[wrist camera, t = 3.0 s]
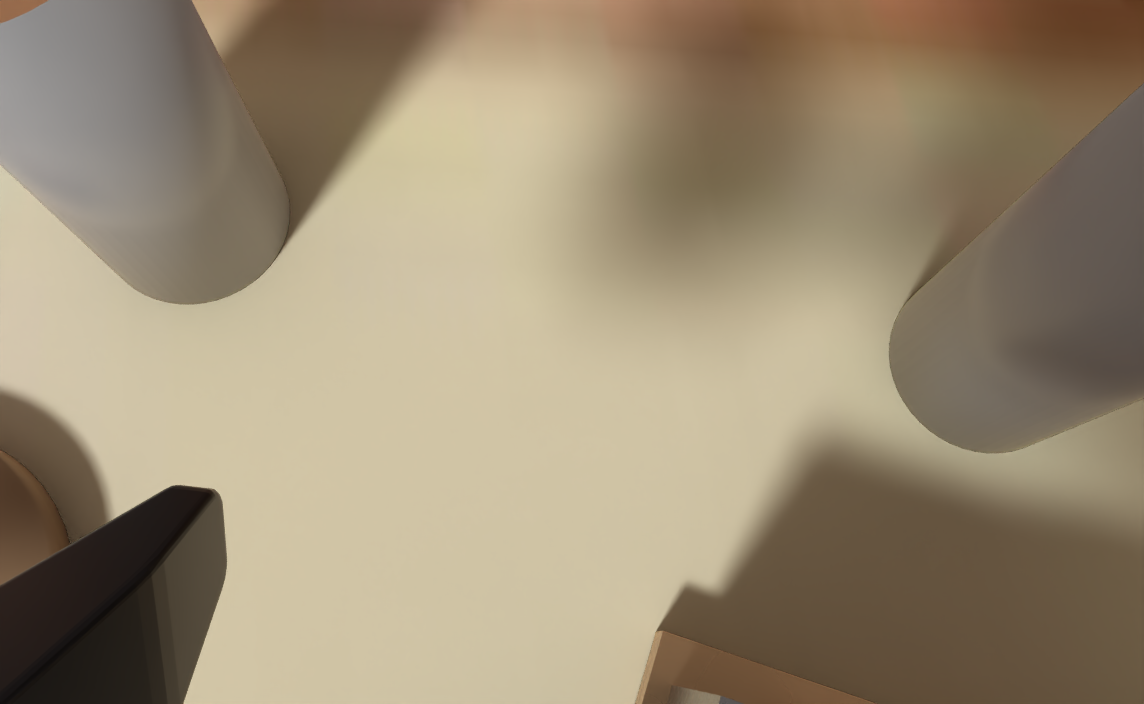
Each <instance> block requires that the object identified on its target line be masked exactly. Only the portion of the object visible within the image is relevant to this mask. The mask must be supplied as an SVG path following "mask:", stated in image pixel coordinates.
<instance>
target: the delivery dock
mask: <svg viewBox="0 0 1144 704" xmlns="http://www.w3.org/2000/svg"><path fill="white" fill-rule="evenodd" d="M68 545H70V543H69V539H68V536H67V532H66V529H65V525H64V523H63V521H62V519H61V516H60V514H59V512H58V510H57V508H56V505H55V504H54V502H53V501H52V499H51V498H50V496H49V495H48V493H47V491H46V490H45V488H44V487H43V486H42V485H41V483H40V482H39V481H38V480H37V479H36V478H35V477H34V476H33V474H32V473H31V472H30V471H29V470H28V469H26V468H25V467H24V466H23V465H22V464H20V463H19V462H18V461H17V460H16V459H14V458H13V457H12V456H10V455H8V454H7V453H5V452H4V451H2V450H0V585H1V584H3V583H5V582H6V581H8V580H10V579H12V578H13V577H15V576H17V575H18V574H20V573H22V572H24V571H25V570H27V569H29V568H30V567H32V566H34V565H36V564H37V563H39V562H41V561H43V560H44V559H46V558H48V557H49V556H51V555H53V554H55V553H56V552H58V551H60V550H61V549H63V548H65V547H67V546H68Z"/></svg>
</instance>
